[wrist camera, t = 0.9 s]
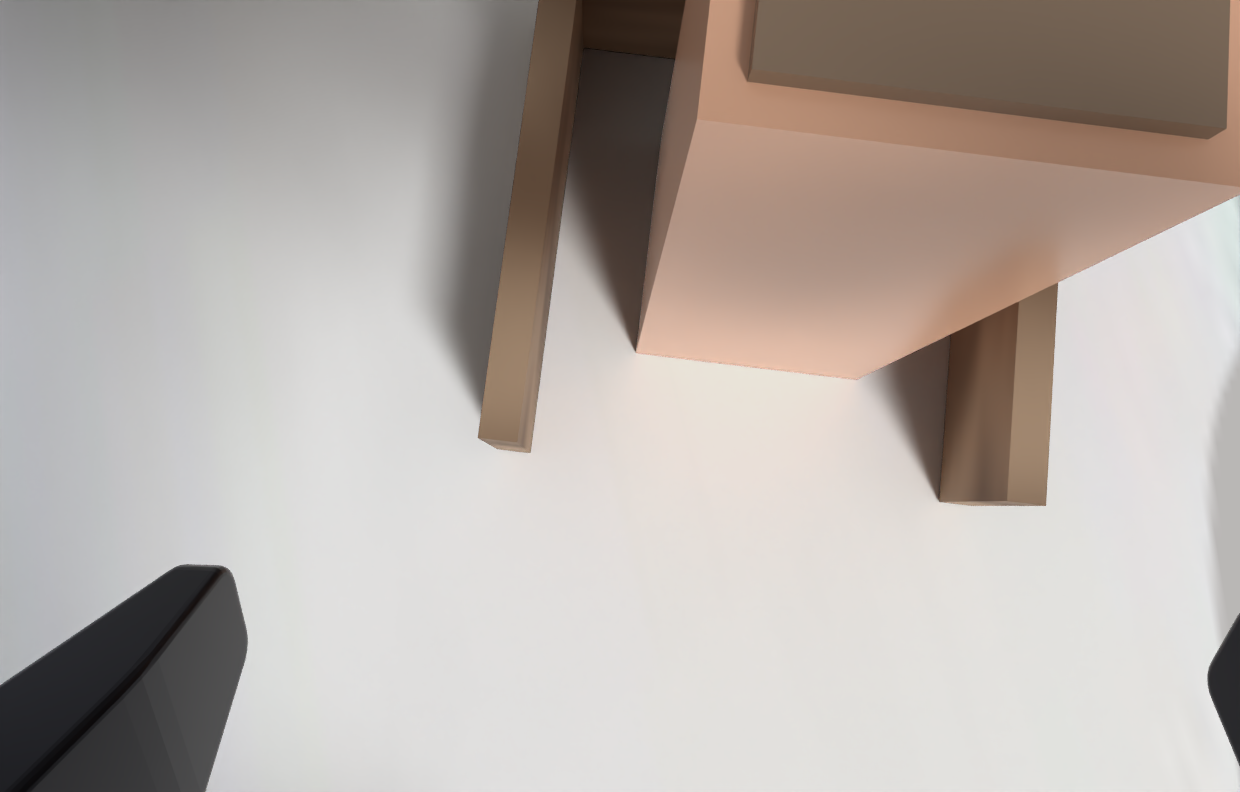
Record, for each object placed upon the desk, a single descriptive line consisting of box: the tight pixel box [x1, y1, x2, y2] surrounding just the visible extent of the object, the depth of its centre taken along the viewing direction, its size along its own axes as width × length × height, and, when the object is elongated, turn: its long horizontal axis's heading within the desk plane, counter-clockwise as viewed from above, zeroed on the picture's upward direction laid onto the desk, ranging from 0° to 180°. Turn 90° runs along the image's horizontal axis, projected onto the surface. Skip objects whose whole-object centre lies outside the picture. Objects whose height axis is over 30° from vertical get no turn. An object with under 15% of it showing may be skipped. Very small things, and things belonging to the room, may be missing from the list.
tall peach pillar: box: [636, 0, 1240, 380], centre depth 15 cm, size 6×6×13 cm
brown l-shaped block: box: [478, 0, 1058, 506], centre depth 19 cm, size 11×12×6 cm
